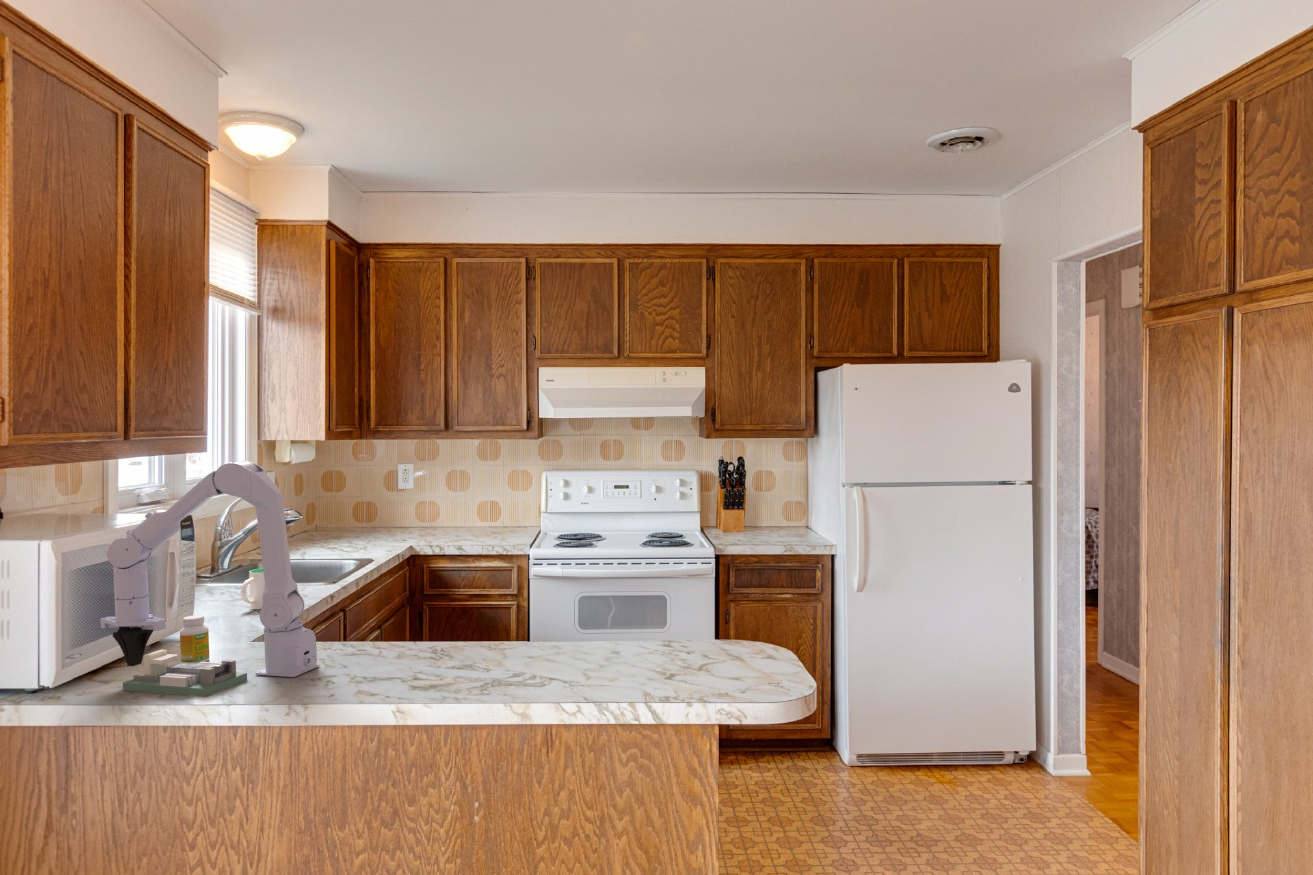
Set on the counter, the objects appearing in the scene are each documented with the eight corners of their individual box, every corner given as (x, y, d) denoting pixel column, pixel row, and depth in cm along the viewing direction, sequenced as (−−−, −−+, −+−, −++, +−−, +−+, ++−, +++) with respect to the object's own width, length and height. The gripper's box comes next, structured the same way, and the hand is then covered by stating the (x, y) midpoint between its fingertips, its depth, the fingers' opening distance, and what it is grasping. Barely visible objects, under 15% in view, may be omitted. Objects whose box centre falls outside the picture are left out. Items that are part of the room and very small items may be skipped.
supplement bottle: (196, 665, 175) (195, 620, 174) (174, 665, 176) (173, 619, 176) (215, 658, 180) (213, 614, 180) (193, 658, 181) (192, 614, 181)
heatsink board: (247, 680, 163) (246, 657, 163) (206, 697, 153) (205, 673, 153) (167, 674, 169) (166, 652, 169) (123, 690, 159) (122, 667, 159)
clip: (179, 673, 164) (178, 650, 164) (162, 679, 160) (161, 656, 160) (162, 671, 165) (161, 649, 165) (144, 678, 161) (143, 655, 161)
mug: (256, 613, 224) (255, 575, 224) (232, 612, 227) (231, 574, 226) (288, 604, 236) (286, 567, 236) (265, 603, 238) (263, 567, 238)
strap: (229, 671, 160) (229, 662, 160) (214, 677, 157) (214, 668, 157) (180, 669, 164) (180, 660, 163) (165, 674, 160) (165, 665, 160)
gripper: (177, 593, 166) (180, 660, 166) (121, 591, 170) (124, 657, 170) (146, 601, 159) (149, 671, 160) (89, 599, 163) (92, 667, 164)
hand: (134, 664), depth 165 cm, fingers closed
